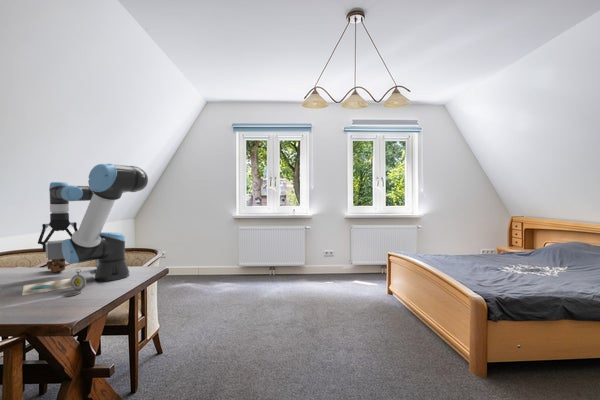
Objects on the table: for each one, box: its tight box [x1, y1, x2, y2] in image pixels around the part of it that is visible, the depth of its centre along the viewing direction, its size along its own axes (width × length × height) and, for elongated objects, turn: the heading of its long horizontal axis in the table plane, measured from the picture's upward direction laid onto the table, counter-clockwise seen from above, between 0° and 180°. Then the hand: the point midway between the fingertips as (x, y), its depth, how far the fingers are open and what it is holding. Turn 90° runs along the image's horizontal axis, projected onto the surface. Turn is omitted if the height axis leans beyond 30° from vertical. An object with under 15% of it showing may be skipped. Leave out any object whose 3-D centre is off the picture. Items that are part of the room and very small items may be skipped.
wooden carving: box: [46, 258, 68, 273], centre depth 169 cm, size 16×5×10 cm, turn 68°
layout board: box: [21, 277, 87, 296], centre depth 140 cm, size 22×19×1 cm
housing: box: [46, 239, 65, 261], centre depth 155 cm, size 10×10×8 cm
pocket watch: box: [62, 268, 87, 297], centre depth 131 cm, size 8×8×10 cm
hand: (60, 256), depth 155 cm, fingers closed on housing, 10 cm apart
